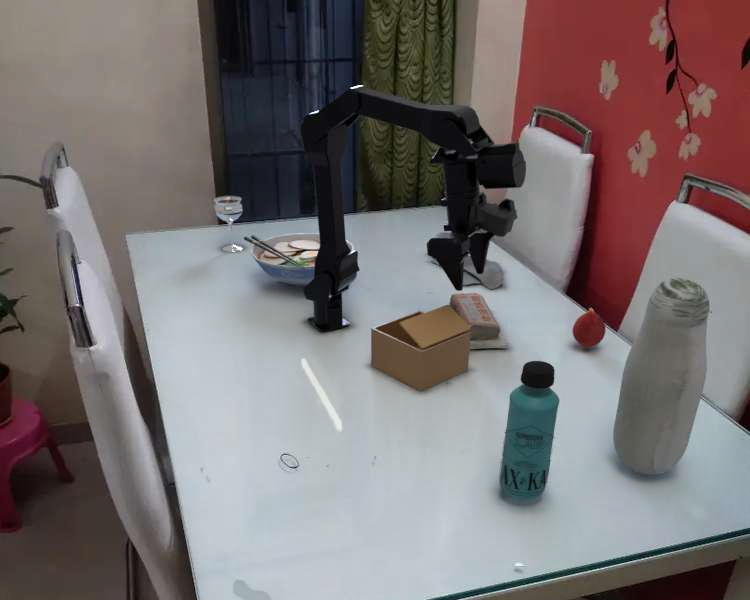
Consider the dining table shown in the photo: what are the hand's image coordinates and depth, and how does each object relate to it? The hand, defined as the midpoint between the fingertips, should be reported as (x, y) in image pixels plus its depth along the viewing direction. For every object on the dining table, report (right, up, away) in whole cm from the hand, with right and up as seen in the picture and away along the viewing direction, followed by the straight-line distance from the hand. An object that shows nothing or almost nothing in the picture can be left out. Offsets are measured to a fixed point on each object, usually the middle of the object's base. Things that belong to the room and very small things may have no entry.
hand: (470, 281), depth 137 cm
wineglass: (-52, +21, +59) cm, 81 cm away
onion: (+23, -10, +11) cm, 27 cm away
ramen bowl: (-33, +9, +40) cm, 52 cm away
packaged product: (+3, -6, +17) cm, 18 cm away
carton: (-9, -15, +4) cm, 17 cm away
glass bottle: (+23, -32, -22) cm, 45 cm away
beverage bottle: (+4, -36, -29) cm, 46 cm away
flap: (-6, -8, -4) cm, 11 cm away
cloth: (+6, +13, +46) cm, 48 cm away
